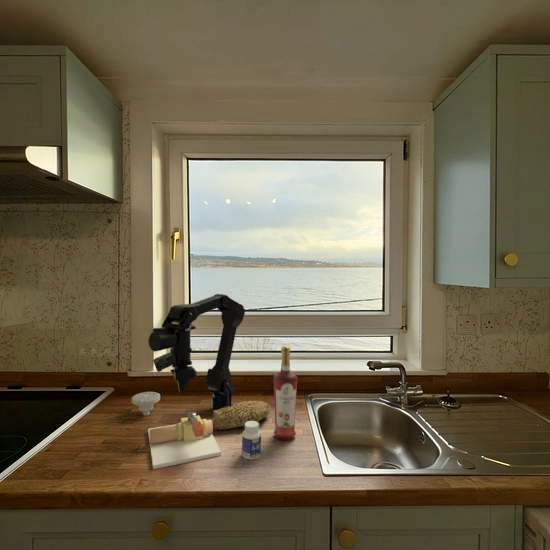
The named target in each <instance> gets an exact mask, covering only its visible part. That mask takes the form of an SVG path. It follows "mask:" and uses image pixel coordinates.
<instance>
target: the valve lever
mask: <svg viewBox="0 0 550 550" xmlns="http://www.w3.org/2000/svg"><path fill="white" fill-rule="evenodd" d="M196 416H197V412H196V411H189V412H187V415H186V417H187V419H188V420H189V421H191V423H192V430H193V432H194V434H195V437H200V436H204V428H203V426H202V424H201V422H200V421H198V420H197V418H196Z"/></svg>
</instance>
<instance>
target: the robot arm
mask: <svg viewBox="0 0 550 550" xmlns="http://www.w3.org/2000/svg"><path fill="white" fill-rule="evenodd" d="M244 307H245V306H243V304H241V303H239V302H237V301H235V300H234V299H233V298H231V297H229V296H228V295H227V294H222V293H215V294H214V295H211V296H209V297H207V298H203V299H201V300H198V301H196V302H192V303H185V304H175V305H172V306H171V307H170V309H169V312H168V313H167V315H166V317H165V319H164V321H163V322H162V324H161V327H154V328H153V329H152V332H151V333H150V335H149V336H148V337H149V338H148V346H149V348H150V350H152V352H159V351H163V350H167V349H169V352H168V353H165V354H162V355H160V356H158V357H156V358H154V359H152V362H153V364H154V367H155V369H156V371H157V373H160V372H162V371H163V370H166V369H168V368H169V367H172V368H171V369H170V372H171V373H172V376H173V378H174V380H175V381H176V382H177V387H178V391H179V394H184V393H185V391H186V389H187V386H188V384H189V382H190V380H192V379H196V378H197V371H196V369H195V368H194V367H193V366H192V365H193V362H192V360H191V358H192V357H191V353H193V349H192V347H191V331H192V330H196V328H197V326H196V325H195V326H194V324H193V322H195V321H196V320H197V319H198V317H199V316H201V315H203V314H205V313H209V312H210V311H213V310H216V309H217V310H218V311H219V312H220V313H221V315H220V317H221V321H222V324H223V327H222V332H221V337H220V341H219V346H218V351H217V354H216V360H215V363H214V365H213V366H212V367H211V368H208V370H207V375H206V377H205V381H206V383H205V384H206V387H207V389H208V392H209V393H210V394H211V393H212V396H211V398H210V408H211V410H212V412H213V411H215V410H219V409H221V408H224V407H227V406H229V407H231V406H232V397H233V395H235V394H236V390H237V387H236V386H235V385H234V383H232V382H231V381H232V373H231V371H230V367H229V366H230V363H231V362H230V361H231V357H232V353H233V347H234V343H235V339H236V338H235V337H236V334H237V333H236V332H237V329H238V327H239V326H240V325H241V324H242V323H243V320H244V317H245V313H246V308H244Z"/></svg>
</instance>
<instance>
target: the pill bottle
mask: <svg viewBox="0 0 550 550" xmlns="http://www.w3.org/2000/svg"><path fill="white" fill-rule="evenodd" d="M241 436H242V437H241V438H242V439H241V442H242V444H241V455H242V457H243V459H246V460H250V461H251V460H257V459H258V458H260V457H261V454H262V453H261V451H262V432H261V430H260V423H259V421H258V422H256V421H248V422H246V423H245V426H244V430H243V431H242V435H241Z"/></svg>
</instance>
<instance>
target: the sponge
mask: <svg viewBox="0 0 550 550" xmlns="http://www.w3.org/2000/svg"><path fill="white" fill-rule="evenodd" d="M270 413H271V405H270V403H267V402H264V401H262V400H244V401H239V402H238V403H234V404H233V405H231V407H229V406H227V407H224V408H221V409H219V410H215V411H213V410H212V424H213V429H214V430H217V431H221V430H231V429H235V428H239V427H240V428H241V427H242V428H243V427H245V423H246V422H248V421H256V422H258V423H259V422H260V421H261V420H262V419H264V418H266V417H267V416H268V415H270Z"/></svg>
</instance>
